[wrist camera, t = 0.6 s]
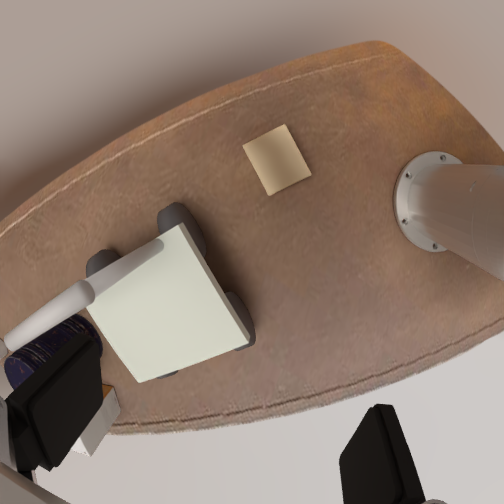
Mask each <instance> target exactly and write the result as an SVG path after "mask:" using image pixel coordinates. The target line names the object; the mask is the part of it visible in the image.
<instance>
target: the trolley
mask: <svg viewBox="0 0 504 504" xmlns="http://www.w3.org/2000/svg"><path fill="white" fill-rule="evenodd" d="M157 223H158V228H159V231H160V234H161V235H160V236H159V237H157V238H155V239H154V240H152V241H150V242H148V243H146V244H145V245H143V246H141V247H139V248H138V249H136V250H134V251H132V252H131V253H129V254H127V255H125V256H124V257H122V258H120V257H119V256H118V255H117V254H116V253H114V252H113V251H111V250H106V249H105V250H101V251H99V252H98V253H97V254H95V255H94V256H92V257H91V258H90V259H89V260H88V262H87V265H86V276H87V279H85V280H79V281H78V282H76V283H75V284H73V285H72V286H71V287H69V288H68V289H66V290H65V291H63V292H62V293H61V294H59V295H58V296H56V297H55V298H54V299H52V300H51V301H50V302H48V303H47V304H45V305H44V306H43V307H41V308H40V309H39V310H37V311H36V312H35V313H33V314H32V315H31V316H29V317H28V318H27V319H25V320H24V321H23V322H21V323H20V324H19V325H17V326H16V327H15V328H14V329H12V330H11V331H10V332H8V333H7V334H6V335H5V337H4V342H5V345H6V347H7V348H8V349H9V350H11V351H16V350H17V349H19V348H20V347H22V346H24V345H25V344H27V343H28V342H30V341H32V340H33V339H35V338H36V337H38V336H39V335H41V334H43V333H44V332H46V331H48V330H49V329H51V328H52V327H54V326H56V325H57V324H59V323H60V322H62V321H64V320H65V319H67V318H69V317H70V316H72V315H74V314H75V313H77V312H79V311H80V310H82V309H84V308H85V307H86V308H87V310H88V311H89V313H90V315H91V316H92V318H93V319H94V321H95V322H96V324H97V325H98V327H99V329H100V330H101V332H102V333H103V335H104V336H105V337H106V339H107V340H108V342H109V343H110V345H111V346H112V348H113V349H114V350H115V352H116V353H117V355H118V356H119V357H120V359H121V360H122V362H123V363H124V364H125V366H126V367H127V368H128V370H129V371H130V372H131V374H132V375H133V376H134V377H135V379H136V380H137V381H138V383H140V382H144V381H147V380H150V379H153V378H159V379H162V378H165V377H168V376H171V375H174V374H176V373H177V372H178V370H179V369H182V368H185V367H187V366H190V365H193V364H196V363H198V362H201V361H204V360H207V359H209V358H212V357H214V356H217V355H220V354H222V353H225V352H227V351H230V350H233V349H234V350H236V351H240V350H242V349H245V348H247V347H250V346H252V345H254V344H255V341H256V334H255V329H254V325H253V322H252V319H251V317H250V315H249V312H248V310H247V309H246V307H245V305H244V304H243V302H242V301H241V299H240V298H239V297H238V296H237V295H236V294H235V293H233V292H231V291H229V292H227V293H225V294H224V292H223V291H222V289H221V287H220V286H219V284H218V282H217V280H216V279H215V277H214V275H213V274H212V272H211V270H210V269H209V267H208V265H207V264H206V262H205V260H204V258H203V257H205V255H206V244H205V240H204V237H203V234H202V232H201V230H200V228H199V226H198V224H197V222H196V221H195V219H194V218H193V216H192V215H191V214H190V212H189V211H188V210H187V209H186V208H185V207H184V206H183V205H181V204H180V203H177V202H174V203H172V204H170V205H169V206H167V207H166V208H164V209H162V210H161V211H160V212H159V213H158V216H157Z"/></svg>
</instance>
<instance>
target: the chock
mask: <svg viewBox="0 0 504 504" xmlns="http://www.w3.org/2000/svg"><path fill="white" fill-rule="evenodd" d="M243 148H244V150H245V152H246V154H247V156H248V158H249V159H250V161H251V163H252V165H253V167H254V169H255V171H256V172H257V174H258V176H259V178H260V180H261V182H262V184H263V186H264V188H265V190H266V191H267V193H268V195H269V196H270V195H272V194H274V193H276V192H278V191H280V190H282V189H284V188H286V187H288V186H290V185H292V184H294V183H296V182H298V181H300V180H302V179H304V178H306V177H308V176H310V175H312V174H311V172H310V171H309V169H308V167H307V165H306V163H305V161H304V159H303V157H302V155H301V153H300V151H299V149H298V147H297V146H296V144H295V142H294V140H293V138H292V136H291V134H290V133H289V131H288V129H287V127H286V125H285V124H284V125H282V126H280V127H278V128H276V129H274V130H272V131H270V132H268V133H266V134H264V135H262V136H260V137H258V138H256V139H254V140H252V141H250V142H248V143H246V144H244V145H243Z"/></svg>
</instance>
